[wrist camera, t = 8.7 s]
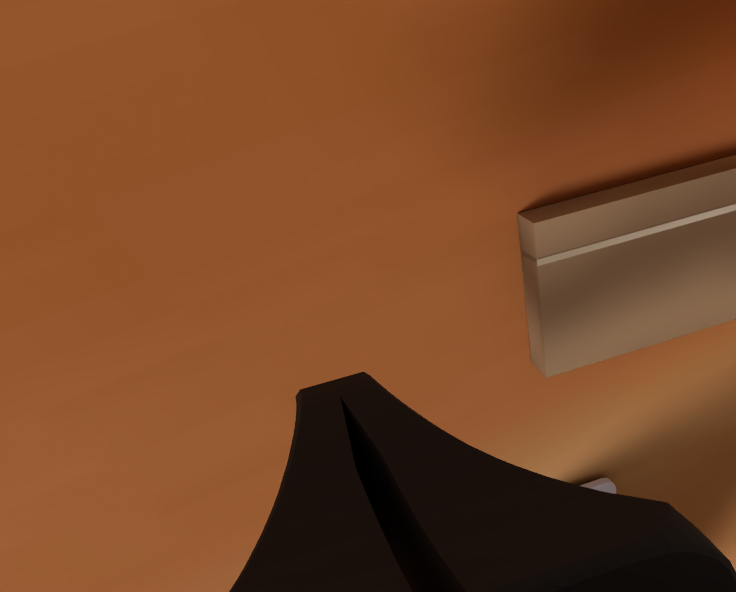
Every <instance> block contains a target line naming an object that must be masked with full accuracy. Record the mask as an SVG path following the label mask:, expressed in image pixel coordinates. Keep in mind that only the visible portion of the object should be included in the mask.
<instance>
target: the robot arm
mask: <svg viewBox="0 0 736 592" xmlns="http://www.w3.org/2000/svg"><path fill="white" fill-rule="evenodd" d="M296 403H297V410H296V422H295V429H294V435H293V440H292V444H291V449H290V454H289V458H288V462H287V466H286V469H285V472H284V476H283V479H282V482H281V485H280V489H279V492H278V495H277V497H276V500H275V503H274V506H273V508H272V511H271V513H270V516H269V518H268V520H267V523H266V525H265V527H264V529H263V532H262V534H261V536H260V538H259V540H258V542H257V544H256V546H255V548H254V550H253V552H252V554H251V556H250V558H249V560H248V561H247V563H246V565H245V567H244V569H243V570H242V572H241V574H240V576H239V577H238V579H237V581H236V582H235V584H234V585H233V587H232V588H231V590H230V591H229V592H736V572H735V570H734V568H733V566H732V564H731V562H730V561H729V560H728V559H727V558H726V557H725V556H724V555H723V554H722V552H721V551H720V550H719V549H718V548H717V547H716V546H715V545H714V544H713V543H712V542H711V541H710V540H709V539H708V538H707V537H706V536H705V535H704V534H703V533H702V532H701V531H700V530H698V529H697V528H696V527H695V526H694V525H693V524H692V523H691V522H690V521H688V520H687V519H686V518H685V517H684V516H682V515H681V514H680V513H679V512H677V511H676V510H675V509H674V508H673V507H672V506H671V505H670V504H668V503H666V502H661V501H655V500H649V499H643V498H637V497H631V496H625V495H619V494H616V486H615V484H614V483H613V482H612V481H611V480H610V479H609V478H601V479H598V480H595V481H592V482H589V483H586V484H583V485H580V486H579V485H575V484H571V483H567V482H563V481H560V480H557V479H553V478H550V477H546V476H543V475H541V474H538V473H535V472H532V471H529V470H526V469H523V468H521V467H518V466H515V465H512V464H510V463H507V462H505V461H502V460H500V459H498V458H495V457H493V456H491V455H489V454H487V453H485V452H482V451H480V450H478V449H476V448H474V447H472V446H470V445H468V444H466V443H464V442H462V441H461V440H459V439H457V438H455V437H454V436H452V435H450V434H449V433H447V432H445V431H444V430H442V429H440V428H439V427H437V426H436V425H434V424H433V423H431V422H429V421H428V420H427V419H425V418H424V417H422V416H421V415H419V414H418V413H416V412H415V411H414V410H412V409H411V408H409V407H408V406H407V405H405V404H404V403H402V402H401V401H400V400H399V399H397V398H396V397H395V396H393V395H392V394H391V393H390V392H388V391H387V390H386V389H385V388H384V387H382V386H381V385H380V384H379V383H378V382H377V381H376V380H374V379H373V378H372V377H371V376H370V375H368V374H367V373H365V372H361V373H357V374H354V375H350V376H347V377H343V378H340V379H336V380H333V381H329V382H326V383H322V384H318V385H315V386H311V387H308V388H304V389H301V390H300V391H299V392H298V394H297V395H296Z"/></svg>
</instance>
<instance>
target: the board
mask: <svg viewBox="0 0 736 592" xmlns="http://www.w3.org/2000/svg"><path fill="white" fill-rule="evenodd" d="M517 215H518V225H519V236H520V246H521V257H522V267H523V278H524V288H525V299H526V309H527V320H528V330H529V341H530V351H531V362H532V363H533V364H534V365H535V366H536V367H537V368H538V369H539V370H540V371H541V372H542V373H543V374H544V375H545V376H546V378H547V377H550V376H554V375H557V374H560V373H563V372H567V371H570V370H573V369H576V368H580V367H583V366H586V365H589V364H592V363H596V362H599V361H602V360H605V359H609V358H612V357H615V356H618V355H622V354H625V353H628V352H631V351H634V350H638V349H641V348H644V347H647V346H651V345H654V344H657V343H660V342H664V341H667V340H670V339H673V338H676V337H680V336H683V335H686V334H689V333H693V332H696V331H699V330H702V329H706V328H709V327H712V326H715V325H719V324H722V323H725V322H728V321H731V320H735V319H736V155H733V156H729V157H725V158H721V159H718V160H714V161H710V162H707V163H703V164H699V165H695V166H692V167H688V168H684V169H681V170H677V171H673V172H670V173H666V174H662V175H658V176H655V177H651V178H647V179H644V180H640V181H636V182H632V183H629V184H625V185H621V186H618V187H614V188H610V189H606V190H603V191H599V192H595V193H592V194H588V195H584V196H581V197H577V198H573V199H569V200H566V201H562V202H558V203H555V204H551V205H547V206H543V207H540V208H536V209H532V210H529V211H525V212H521V213H518V214H517Z"/></svg>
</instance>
